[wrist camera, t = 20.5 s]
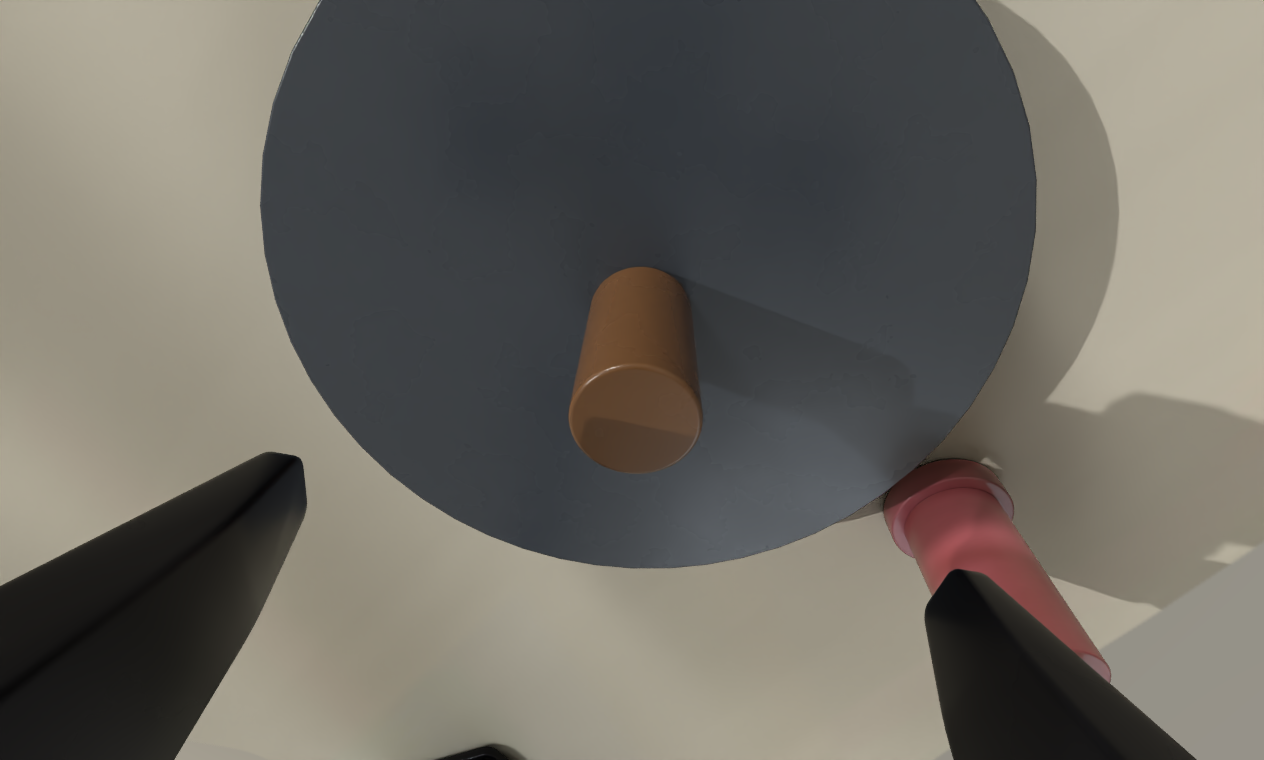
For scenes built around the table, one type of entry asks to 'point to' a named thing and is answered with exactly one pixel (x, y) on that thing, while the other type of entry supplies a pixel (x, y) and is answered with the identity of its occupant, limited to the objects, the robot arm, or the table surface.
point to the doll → (978, 542)
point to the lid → (648, 255)
